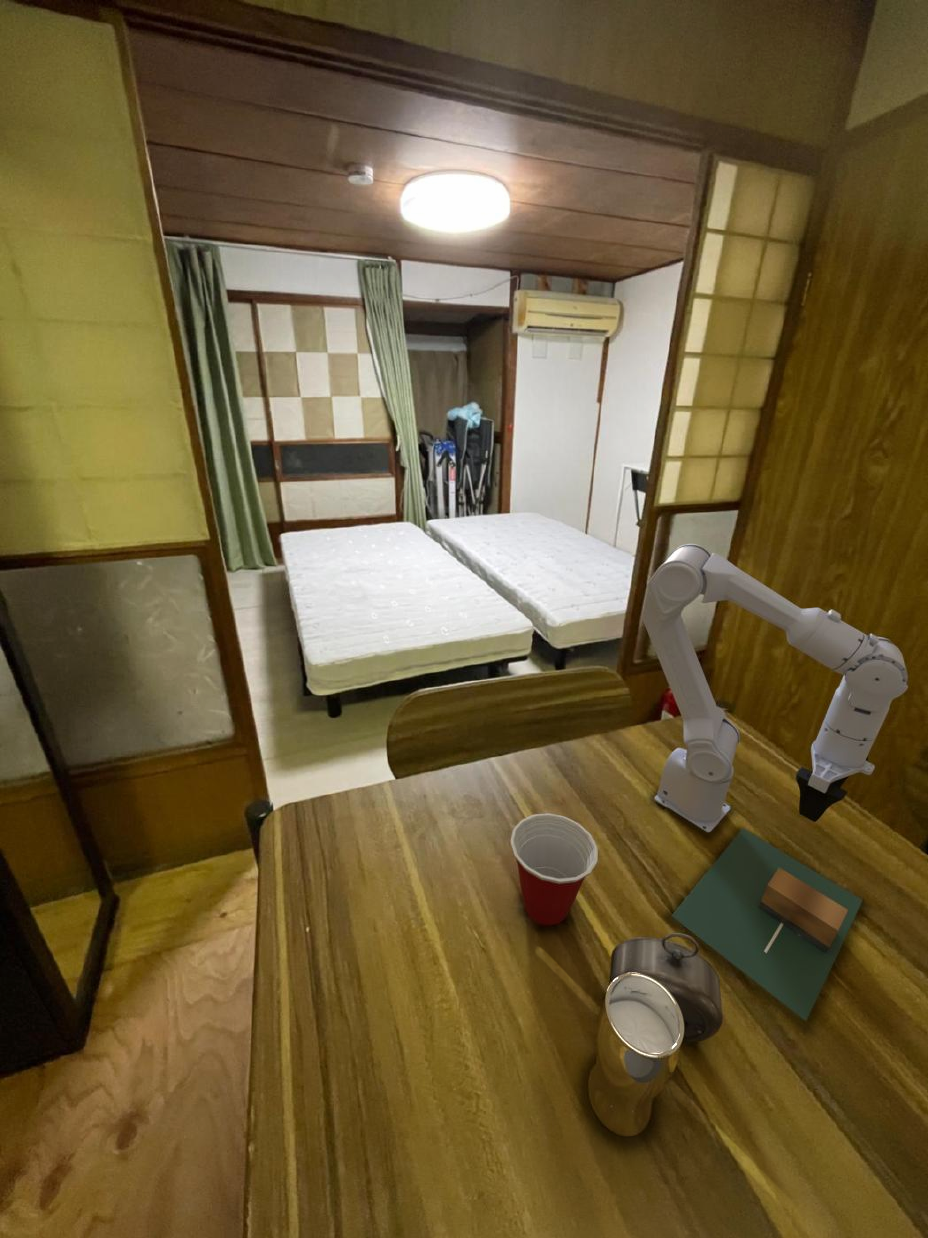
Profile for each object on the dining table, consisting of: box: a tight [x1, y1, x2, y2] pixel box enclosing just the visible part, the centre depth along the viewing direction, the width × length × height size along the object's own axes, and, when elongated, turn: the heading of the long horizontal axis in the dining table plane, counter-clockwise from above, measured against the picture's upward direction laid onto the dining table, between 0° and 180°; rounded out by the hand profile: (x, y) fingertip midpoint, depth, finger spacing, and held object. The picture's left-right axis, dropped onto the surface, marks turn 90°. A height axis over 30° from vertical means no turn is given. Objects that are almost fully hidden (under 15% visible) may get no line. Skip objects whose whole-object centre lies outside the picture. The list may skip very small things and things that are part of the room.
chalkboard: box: [671, 827, 864, 1022], centre depth 69 cm, size 16×22×1 cm
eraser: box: [759, 868, 848, 953], centre depth 66 cm, size 8×4×4 cm, turn 41°
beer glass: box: [587, 972, 684, 1137], centre depth 48 cm, size 7×7×15 cm
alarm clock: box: [608, 932, 724, 1043], centre depth 53 cm, size 11×5×16 cm, turn 71°
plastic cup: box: [510, 812, 599, 927], centre depth 66 cm, size 11×11×12 cm
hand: (817, 803), depth 74 cm, fingers open, 7 cm apart
